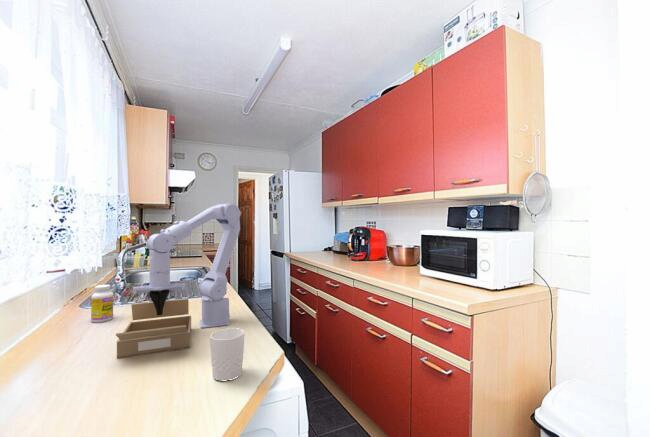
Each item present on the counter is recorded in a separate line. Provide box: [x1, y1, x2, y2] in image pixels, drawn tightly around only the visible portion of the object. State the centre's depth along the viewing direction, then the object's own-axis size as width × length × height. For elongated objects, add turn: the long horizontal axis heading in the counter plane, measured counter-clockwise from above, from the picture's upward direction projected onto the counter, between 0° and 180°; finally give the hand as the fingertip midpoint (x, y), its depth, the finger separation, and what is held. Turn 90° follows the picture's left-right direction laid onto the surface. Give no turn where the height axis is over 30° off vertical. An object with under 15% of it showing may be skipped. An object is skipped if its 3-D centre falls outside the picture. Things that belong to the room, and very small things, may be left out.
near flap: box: [115, 325, 187, 340], centre depth 84 cm, size 16×6×1 cm
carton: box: [116, 315, 192, 359], centre depth 94 cm, size 18×17×4 cm
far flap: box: [131, 298, 190, 321], centre depth 100 cm, size 16×6×1 cm
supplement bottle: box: [90, 284, 114, 324], centre depth 114 cm, size 7×7×13 cm
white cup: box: [209, 327, 245, 380], centre depth 74 cm, size 8×8×10 cm
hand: (159, 314), depth 97 cm, fingers closed
